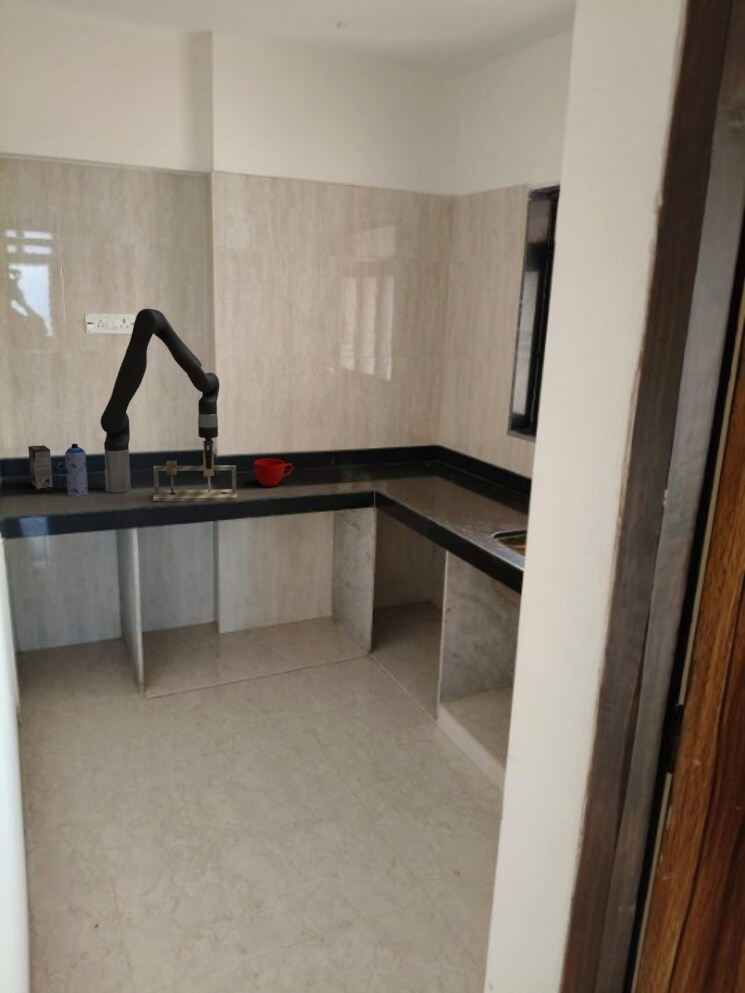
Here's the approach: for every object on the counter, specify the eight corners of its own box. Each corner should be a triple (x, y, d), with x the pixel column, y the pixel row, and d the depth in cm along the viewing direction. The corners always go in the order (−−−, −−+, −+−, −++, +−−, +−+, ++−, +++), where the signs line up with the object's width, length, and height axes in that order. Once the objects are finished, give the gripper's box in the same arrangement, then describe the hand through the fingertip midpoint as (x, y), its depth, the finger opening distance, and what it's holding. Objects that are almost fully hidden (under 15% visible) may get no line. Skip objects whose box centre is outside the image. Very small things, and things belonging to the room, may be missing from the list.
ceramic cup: (296, 487, 320) (297, 464, 317) (257, 489, 314) (257, 466, 311) (288, 479, 331) (288, 457, 329) (251, 481, 325) (250, 459, 322)
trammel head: (204, 493, 296) (203, 454, 292) (204, 490, 301) (203, 451, 296) (214, 493, 297) (213, 454, 293) (214, 489, 301) (213, 451, 297)
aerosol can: (67, 491, 299) (63, 442, 294) (88, 490, 302) (85, 441, 297) (67, 496, 292) (63, 446, 287) (88, 495, 295) (85, 445, 290)
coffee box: (31, 484, 307) (27, 446, 303) (47, 482, 311) (44, 444, 307) (36, 489, 300) (33, 450, 296) (53, 487, 304) (50, 448, 300)
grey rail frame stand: (153, 502, 290) (151, 465, 286) (155, 493, 301) (154, 458, 297) (236, 500, 296) (236, 465, 292) (236, 492, 307) (236, 458, 303)
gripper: (198, 421, 298) (199, 463, 302) (197, 428, 284) (198, 471, 289) (218, 421, 299) (218, 463, 304) (217, 428, 285) (218, 471, 290)
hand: (208, 467), depth 296 cm, fingers closed on trammel head, 5 cm apart
